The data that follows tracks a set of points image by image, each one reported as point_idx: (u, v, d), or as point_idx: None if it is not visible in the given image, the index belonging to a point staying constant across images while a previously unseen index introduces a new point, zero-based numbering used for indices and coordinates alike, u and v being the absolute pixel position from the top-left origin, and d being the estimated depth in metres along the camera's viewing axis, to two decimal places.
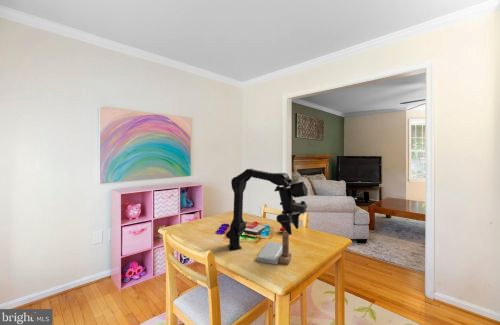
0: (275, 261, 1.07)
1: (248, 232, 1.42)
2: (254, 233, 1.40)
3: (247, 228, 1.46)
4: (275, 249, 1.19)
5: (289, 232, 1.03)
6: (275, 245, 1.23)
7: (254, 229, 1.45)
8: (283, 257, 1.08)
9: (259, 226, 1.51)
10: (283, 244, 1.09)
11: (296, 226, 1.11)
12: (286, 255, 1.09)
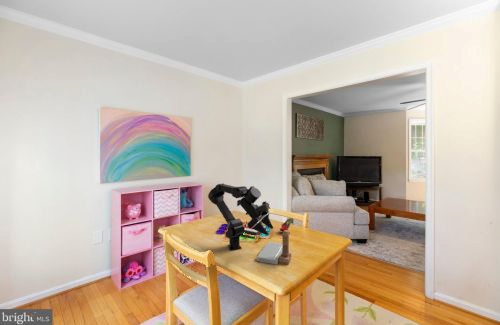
0: (275, 261, 1.07)
1: (248, 232, 1.42)
2: (253, 233, 1.39)
3: (247, 228, 1.46)
4: (275, 249, 1.19)
5: (265, 233, 1.08)
6: (275, 245, 1.23)
7: None
8: (283, 257, 1.08)
9: None
10: (283, 244, 1.09)
11: (270, 226, 1.17)
12: (286, 255, 1.09)
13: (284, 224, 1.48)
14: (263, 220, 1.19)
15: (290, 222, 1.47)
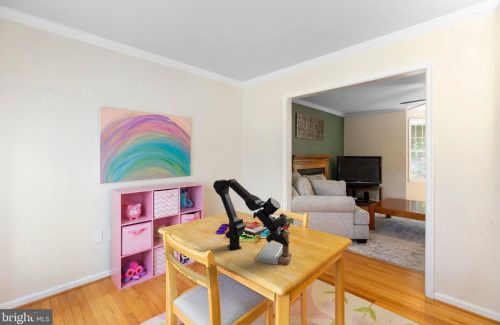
0: (275, 261, 1.07)
1: (247, 232, 1.42)
2: (252, 233, 1.39)
3: (247, 228, 1.46)
4: (275, 249, 1.19)
5: (286, 244, 1.08)
6: (275, 245, 1.23)
7: (253, 229, 1.44)
8: (283, 257, 1.08)
9: (260, 227, 1.49)
10: None
11: None
12: (286, 255, 1.09)
13: None
14: None
15: (290, 222, 1.47)
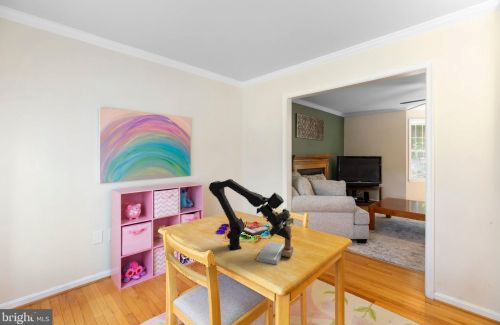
0: (275, 261, 1.07)
1: (246, 232, 1.42)
2: (250, 234, 1.39)
3: (247, 228, 1.46)
4: (275, 249, 1.19)
5: (288, 238, 1.13)
6: (275, 245, 1.23)
7: (253, 230, 1.43)
8: (285, 250, 1.13)
9: (261, 227, 1.48)
10: (285, 238, 1.14)
11: None
12: (288, 248, 1.14)
13: None
14: None
15: (290, 222, 1.47)
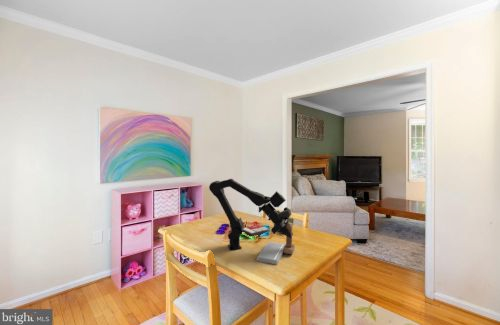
0: (275, 261, 1.07)
1: (245, 232, 1.42)
2: (249, 234, 1.38)
3: (247, 228, 1.46)
4: (275, 249, 1.19)
5: (289, 235, 1.16)
6: (275, 245, 1.23)
7: (253, 230, 1.43)
8: (287, 248, 1.17)
9: (261, 228, 1.47)
10: None
11: None
12: (290, 246, 1.17)
13: None
14: None
15: (290, 222, 1.47)
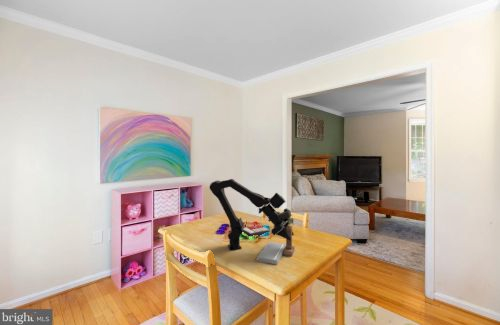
0: (275, 261, 1.07)
1: (244, 232, 1.42)
2: (248, 234, 1.38)
3: (247, 228, 1.46)
4: (275, 249, 1.19)
5: (288, 238, 1.14)
6: (275, 245, 1.23)
7: (252, 230, 1.43)
8: (287, 250, 1.17)
9: (261, 228, 1.46)
10: None
11: None
12: (290, 248, 1.17)
13: None
14: (284, 227, 1.23)
15: (290, 222, 1.47)
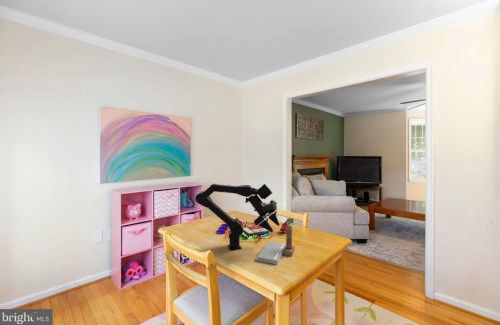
0: (275, 261, 1.07)
1: (244, 232, 1.42)
2: (247, 234, 1.38)
3: (247, 228, 1.46)
4: (275, 249, 1.19)
5: (270, 230, 1.16)
6: (275, 245, 1.23)
7: (252, 230, 1.42)
8: (287, 250, 1.17)
9: (261, 229, 1.45)
10: (287, 237, 1.18)
11: (277, 223, 1.24)
12: (290, 248, 1.17)
13: (284, 224, 1.48)
14: (270, 217, 1.26)
15: (290, 222, 1.47)
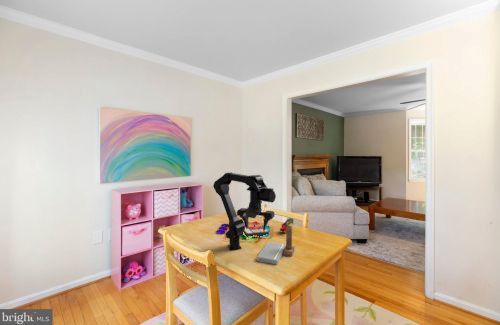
0: (275, 261, 1.07)
1: None
2: (245, 234, 1.38)
3: None
4: (275, 249, 1.19)
5: None
6: (275, 245, 1.23)
7: (251, 230, 1.42)
8: (287, 250, 1.17)
9: (261, 229, 1.44)
10: (287, 237, 1.18)
11: None
12: (290, 248, 1.17)
13: (284, 224, 1.48)
14: None
15: (290, 222, 1.47)
